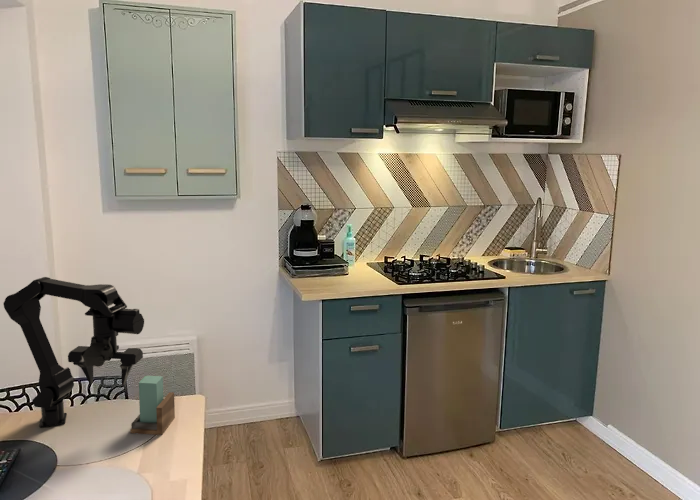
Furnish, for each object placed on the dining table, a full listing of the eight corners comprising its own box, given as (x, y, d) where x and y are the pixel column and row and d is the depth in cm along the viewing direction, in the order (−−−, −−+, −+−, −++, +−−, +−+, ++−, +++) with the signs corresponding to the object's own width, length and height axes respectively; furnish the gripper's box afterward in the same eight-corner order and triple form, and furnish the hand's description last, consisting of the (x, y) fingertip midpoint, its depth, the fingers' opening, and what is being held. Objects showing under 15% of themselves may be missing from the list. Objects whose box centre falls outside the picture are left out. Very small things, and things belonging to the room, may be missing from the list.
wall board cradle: (130, 433, 152) (129, 406, 150) (144, 416, 161) (144, 391, 160) (162, 434, 151) (161, 408, 150) (174, 417, 161) (174, 392, 160)
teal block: (140, 425, 154) (138, 382, 152) (147, 417, 159) (145, 375, 156) (157, 426, 154) (156, 383, 151) (164, 418, 159) (162, 376, 156)
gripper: (55, 339, 142) (58, 395, 145) (125, 342, 141) (127, 398, 144) (77, 326, 153) (80, 378, 156) (142, 328, 152) (144, 381, 155)
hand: (107, 384), depth 152 cm, fingers open, 9 cm apart
